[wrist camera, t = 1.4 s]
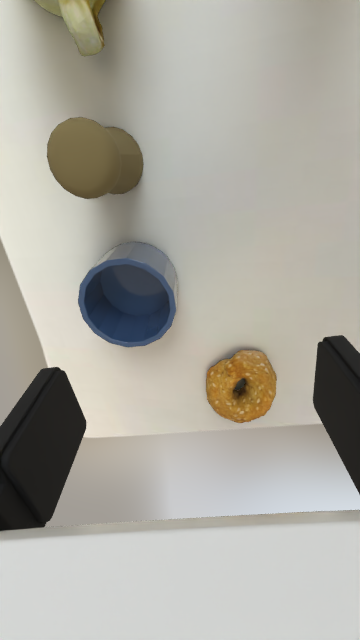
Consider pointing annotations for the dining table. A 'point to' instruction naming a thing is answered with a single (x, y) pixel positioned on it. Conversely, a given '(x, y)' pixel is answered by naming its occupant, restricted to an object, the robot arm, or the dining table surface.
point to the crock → (130, 295)
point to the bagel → (251, 396)
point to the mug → (79, 22)
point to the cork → (93, 158)
